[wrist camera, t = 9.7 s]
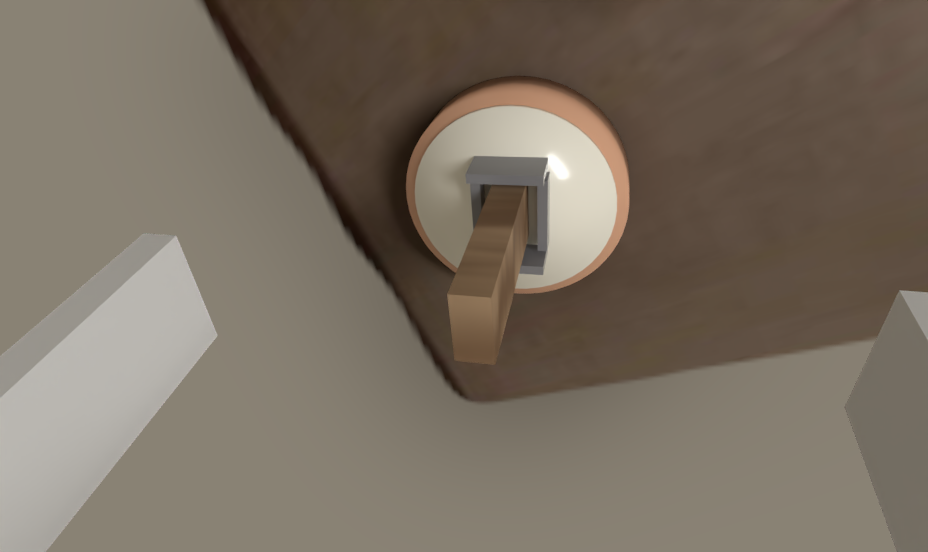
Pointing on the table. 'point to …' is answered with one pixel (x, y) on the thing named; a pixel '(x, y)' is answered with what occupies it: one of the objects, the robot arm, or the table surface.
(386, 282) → the table surface
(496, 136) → the peach disc
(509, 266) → the tall wooden post
